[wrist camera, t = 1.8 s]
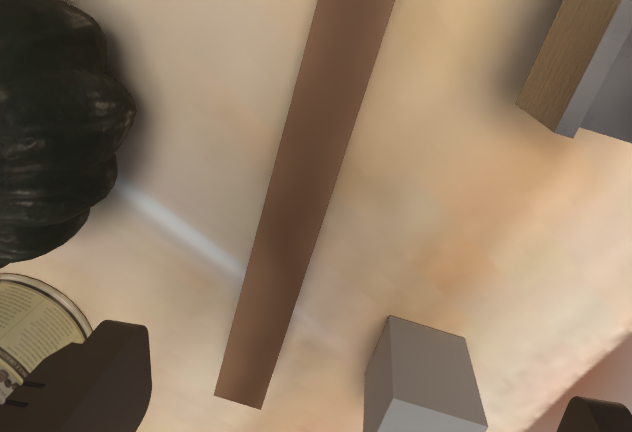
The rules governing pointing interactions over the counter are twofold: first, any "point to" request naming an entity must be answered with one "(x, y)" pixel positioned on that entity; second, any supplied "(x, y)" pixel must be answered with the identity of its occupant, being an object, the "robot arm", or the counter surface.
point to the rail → (301, 187)
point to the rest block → (421, 382)
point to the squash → (54, 125)
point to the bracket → (584, 71)
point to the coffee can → (33, 327)
